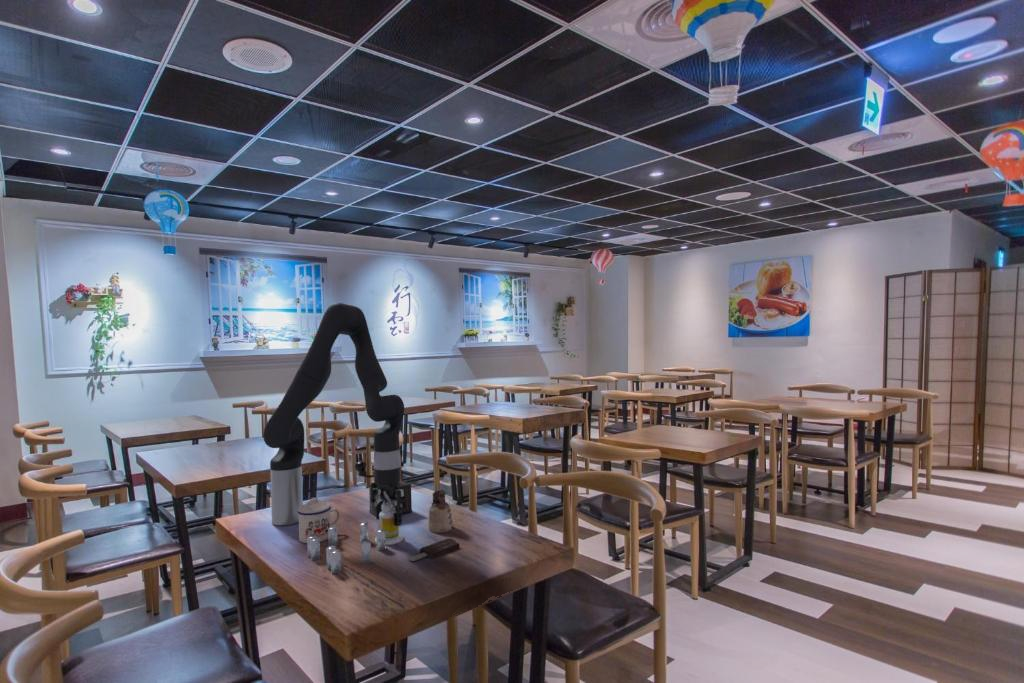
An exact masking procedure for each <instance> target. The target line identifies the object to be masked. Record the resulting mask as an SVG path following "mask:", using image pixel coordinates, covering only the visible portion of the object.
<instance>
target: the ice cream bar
mask: <svg viewBox="0 0 1024 683" xmlns="http://www.w3.org/2000/svg"><path fill="white" fill-rule="evenodd" d="M458 549H460V543H459V542H457V541H456V539H454V538H445V539H443V540H439V541H437V542H434V543H432V544H429V545H427V546H426V545H425V546H423V547H420V548H419V554H417V555H413V556H411V557H409V561H410V562H416V561H418V560H421V559H423V558H426V557H427V558H429V559H435V558H438V557H440V556H442V555H445V554H448V553H451V552H452V551H456V550H458Z"/></svg>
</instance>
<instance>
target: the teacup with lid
mask: <svg viewBox="0 0 1024 683" xmlns="http://www.w3.org/2000/svg"><path fill="white" fill-rule="evenodd" d="M333 512H336V514H337V515H336V518H335V519H334V521H332V520H331V513H333ZM298 513H299V522H298V536H299V538H298V539H299V542H301V543H303V544H307V537H308V536H311V535H316V536H317V538H320V543H321V542H324V541H326V540H328V527H331V526H336V525H337V524H338V522H339V521H340V519H341V511H340V510H339V509H338V508H332V505H331V504H330V503H328V502H326V501H322V500H319V498H318V497H311V498H310V501H308V502H306V503H305V504H303V505H302V506H301V507H299V509H298ZM331 521H332V522H331Z"/></svg>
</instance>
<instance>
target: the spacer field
mask: <svg viewBox="0 0 1024 683" xmlns="http://www.w3.org/2000/svg"><path fill="white" fill-rule="evenodd" d="M375 533H376V537H377V544H376V550H377V551H385V550H386V549H387V545H386V530H385V529H379V528H378V529H377V530H376V532H375ZM369 537H370V536H369V522H368V521H363V522H360V523H359V542H360V547H361V549H360V550H361V564H363V565H367V564H368V565H369V564H371V563H372V542H371V541H370V538H369ZM327 542H328V543H327V546H326V548H325V551H326V554H325V555H326V556H325V557H326V569H327V570H330V574H333V575H337V574H339V573H341V572H342V556H341V554H342V551H341V550H340V549H337V546H338V526H337V525H334V526H331V527H328V539H327ZM306 544H307V545H306V546H307V557H308V558H310V560H311V561H316V560H319V559H321V542H320V538H317V536H316V535H311V536H308V537H307V543H306Z"/></svg>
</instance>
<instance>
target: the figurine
mask: <svg viewBox="0 0 1024 683" xmlns="http://www.w3.org/2000/svg"><path fill="white" fill-rule="evenodd" d="M451 509H452V508H451V506H450V504H449V503H448V502H446V490H444V489H443V488H438V489H436V490H434V492H432V502H431V506H430V507H429V511H428V512H429V513H428V514H429V515H428V530H429V532H432V533H436V534H437V533H438V534H441V533H448V532H450V531H452V529H453V518H452V517H453V516H452V511H451Z"/></svg>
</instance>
